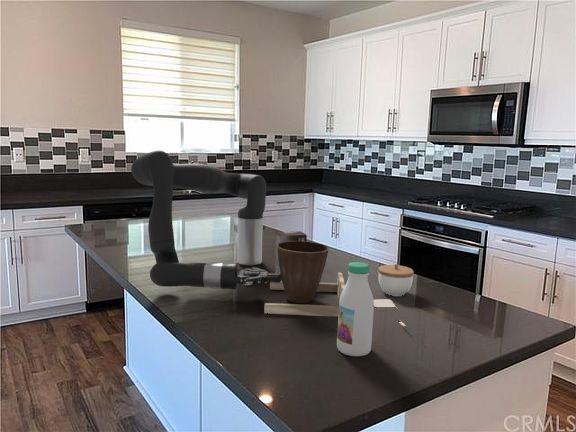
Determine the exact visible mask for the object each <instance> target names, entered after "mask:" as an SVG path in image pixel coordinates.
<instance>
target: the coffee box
mask: <svg viewBox="0 0 576 432" xmlns="http://www.w3.org/2000/svg"><path fill="white" fill-rule="evenodd" d="M307 239H308V237H307V234H306V233H304V232H302V231H275V266H274V267H275V272H274V274H281V273H280V268H279V261H278V251H277V244H278V243H281V242H286V241H307ZM307 242H308V241H307ZM281 281H282V278H281Z"/></svg>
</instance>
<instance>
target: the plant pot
mask: <svg viewBox="0 0 576 432" xmlns="http://www.w3.org/2000/svg"><path fill="white" fill-rule="evenodd" d="M277 251H278V261H279V268H280V273H281V278H282V282H283V286H284V290H283V291H284V293H285V295H286V298H287V299H286V300H288V301H289V302H292V303H294V304H308V303H310V302H312V301H313V299H314V297H315V295H316V293H317V291H316V290H317V288H318V285H319V283H321V280H322V277H323V274H324V271H325V267H326V264H327V263H326V262H327V257H328V253H329V246H327V245H326V244H322V243H318V242H314V241H286V242H281V243H278V244H277Z"/></svg>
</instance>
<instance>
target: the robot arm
mask: <svg viewBox="0 0 576 432" xmlns="http://www.w3.org/2000/svg"><path fill="white" fill-rule="evenodd" d="M130 170H131V174H132V176H133V178H134V179H135V180H136V181H137V182H138V183H140V184H142V185H144V186H152V188H153V200H152V206H151V210H150V214H149V218H148V227H147V228H148V229H147V230H148V237H149V238H148V239H149V249H150V251H151V253H153V255H154V258H155V264H154V265H153V266H152V267H151V269H150V271H149V278H150V279H151V280H150V281H151V282H153V284H155V285H156V286H158V287H169V288H171V287H194V288H208V289H215V290H216V289H217V290H237V289H238V288H239V285H244V286H245V288H247V289H248V288H255V287H260V286H263V285H266V284H267V283H270V282H278V283H279V282H281V274H275V273H269V271H267V270H265V269H263V268H262V269H261V268H259V267H254V266H256V265H260V264H262V262H263V260H262V258H263V223H264V221H263V220H264V219H263V218H264V212H265V209H266V201H267V200H266V199H267V183H266V179H265V178H264V177H263V176H262V175H258V174H252V173H232V172H227V171H225V170H223V169H221V168H219V167H216V166H213V165H208V164H205V163H204V164H203V163H177V164H176V163H173V161H172V158H171V156H170V155H169V154H168V153H167V152H166V151H164V150H154V151H153V150H152V151H151V152H148V153H146V154H143V155H140V156H139V157H137V158H136V159H135V160H134V161H133V162H132V164H131V169H130ZM174 188H179V189H184V190H188V191H195V192H200V193H205V194H220V193H225V194H228V195H232V196H234V197H238V198H241V199H244V200H246V205H245V206H244V207H242V208H239V209H238V211H237V257H236V258H237V260H236V262H237V263H236V262H235V263H234V262H189V263H183V262H179V257H178V254H177V251H176V247H175V246H176V244H175V234H174V227H173V224H174V223H173V195H174V194H173V191H174V190H173V189H174ZM239 265H243V266H252V267H251V268H244V269H240V266H239Z"/></svg>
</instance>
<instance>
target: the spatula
mask: <svg viewBox="0 0 576 432" xmlns="http://www.w3.org/2000/svg"><path fill="white" fill-rule="evenodd" d="M373 300H374V308H375V307H396V305H395V303H394V302H393V300H391V299H389V298H385V299H378V298H377V299H373ZM396 308H397V307H396ZM398 323H399V324H400V325H401V326H402V328H403V329H404V330H405V331H406V332H407V334H408V335H409V334H410V335H411V336H412V337H413V338H415V339H416V340H417V341H418V342H420V340H421V339H420V338H419V337H418V335H416V333H415V332H414V331H413V330H412V329H411V327H409V326H408V325H406V324H405V323H403V322H402V321H401V322H398ZM410 335H409V336H410ZM411 336H410V337H411ZM412 337H411V338H412ZM413 338H412V339H413Z"/></svg>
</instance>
